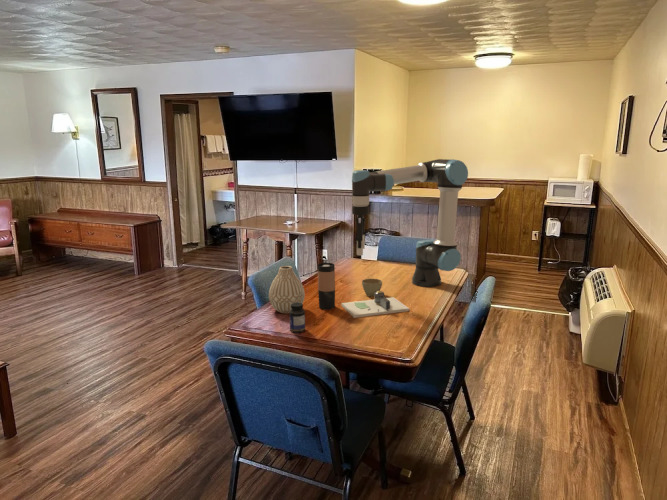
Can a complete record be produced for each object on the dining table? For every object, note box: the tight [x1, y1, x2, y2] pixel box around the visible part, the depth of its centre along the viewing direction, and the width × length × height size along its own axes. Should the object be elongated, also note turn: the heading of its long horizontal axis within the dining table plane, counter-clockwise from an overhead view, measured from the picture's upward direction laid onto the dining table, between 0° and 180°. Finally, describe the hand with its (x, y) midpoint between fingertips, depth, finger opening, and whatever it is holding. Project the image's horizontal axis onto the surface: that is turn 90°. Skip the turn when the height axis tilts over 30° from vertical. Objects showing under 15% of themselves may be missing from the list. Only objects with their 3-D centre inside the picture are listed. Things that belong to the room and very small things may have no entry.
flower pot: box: [361, 278, 383, 298], centre depth 236 cm, size 10×10×7 cm
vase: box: [268, 265, 306, 314], centre depth 215 cm, size 16×16×20 cm
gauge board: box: [341, 296, 410, 319], centre depth 218 cm, size 26×17×2 cm, turn 107°
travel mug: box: [317, 262, 336, 311], centre depth 218 cm, size 8×8×20 cm
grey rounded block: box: [373, 290, 390, 309], centre depth 216 cm, size 12×4×5 cm, turn 17°
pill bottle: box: [288, 302, 306, 334], centre depth 192 cm, size 6×6×11 cm
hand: (360, 251), depth 220 cm, fingers open, 13 cm apart
